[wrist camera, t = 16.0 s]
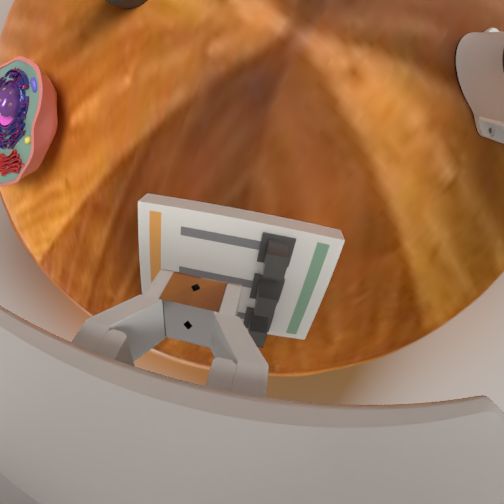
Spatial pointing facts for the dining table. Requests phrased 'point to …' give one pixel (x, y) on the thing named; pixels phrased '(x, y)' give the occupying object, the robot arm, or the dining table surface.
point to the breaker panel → (237, 253)
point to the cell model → (25, 118)
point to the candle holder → (126, 3)
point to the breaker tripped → (266, 295)
